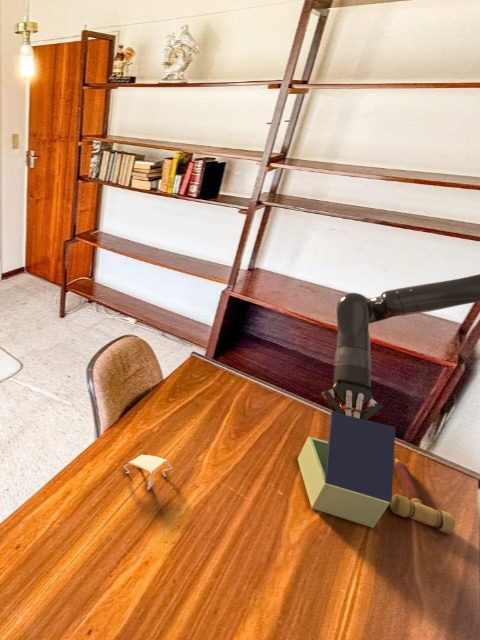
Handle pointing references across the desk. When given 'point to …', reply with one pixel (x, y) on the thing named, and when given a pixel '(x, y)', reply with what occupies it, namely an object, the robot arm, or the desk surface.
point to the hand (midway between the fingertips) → (349, 434)
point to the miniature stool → (148, 465)
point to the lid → (360, 456)
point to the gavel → (418, 504)
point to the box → (335, 489)
